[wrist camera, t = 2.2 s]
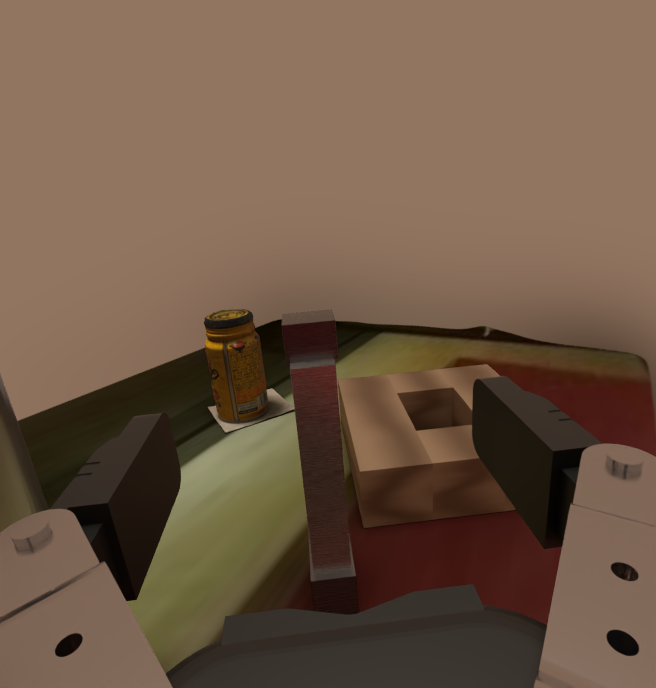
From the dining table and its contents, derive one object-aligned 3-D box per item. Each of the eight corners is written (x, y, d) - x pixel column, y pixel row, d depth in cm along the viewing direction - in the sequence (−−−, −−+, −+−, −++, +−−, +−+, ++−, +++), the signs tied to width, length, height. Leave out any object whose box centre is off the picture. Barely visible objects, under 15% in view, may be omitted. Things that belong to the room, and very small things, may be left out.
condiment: (207, 408, 54) (189, 313, 49) (272, 389, 57) (260, 299, 53) (225, 434, 47) (206, 328, 43) (296, 411, 51) (285, 311, 47)
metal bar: (315, 619, 26) (281, 333, 20) (312, 561, 30) (283, 308, 24) (358, 614, 26) (337, 327, 20) (349, 556, 30) (329, 304, 24)
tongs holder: (363, 528, 33) (359, 471, 31) (341, 421, 48) (337, 379, 46) (571, 503, 34) (578, 446, 32) (485, 406, 49) (486, 364, 47)
